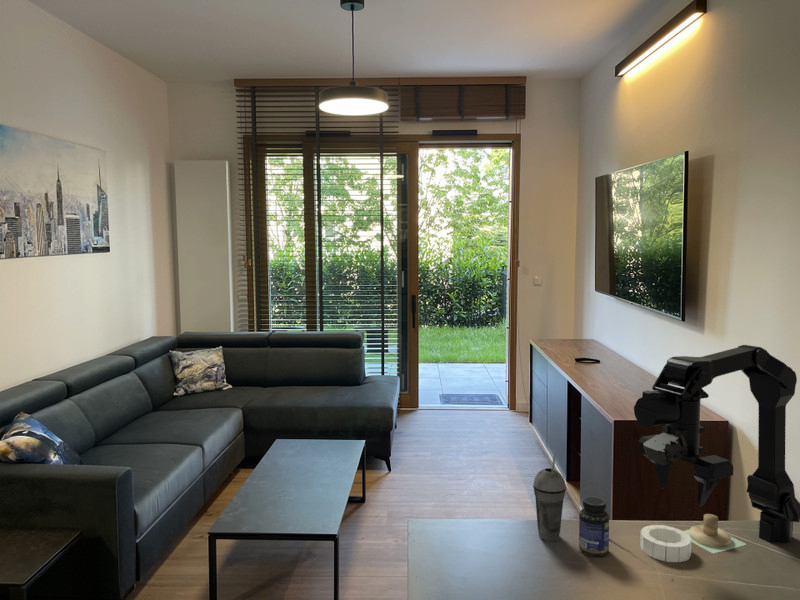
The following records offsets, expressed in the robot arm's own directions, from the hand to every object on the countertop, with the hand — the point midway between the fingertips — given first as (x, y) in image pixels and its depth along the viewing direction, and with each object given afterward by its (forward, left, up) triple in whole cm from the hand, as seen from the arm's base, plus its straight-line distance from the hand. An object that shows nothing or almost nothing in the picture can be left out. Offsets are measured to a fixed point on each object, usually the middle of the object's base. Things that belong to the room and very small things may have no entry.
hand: (681, 496), depth 119 cm
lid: (-14, -5, -14) cm, 21 cm away
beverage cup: (+17, -21, -15) cm, 31 cm away
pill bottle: (+12, -12, -15) cm, 22 cm away
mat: (-14, -5, -15) cm, 21 cm away
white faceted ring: (-1, -5, -15) cm, 16 cm away
